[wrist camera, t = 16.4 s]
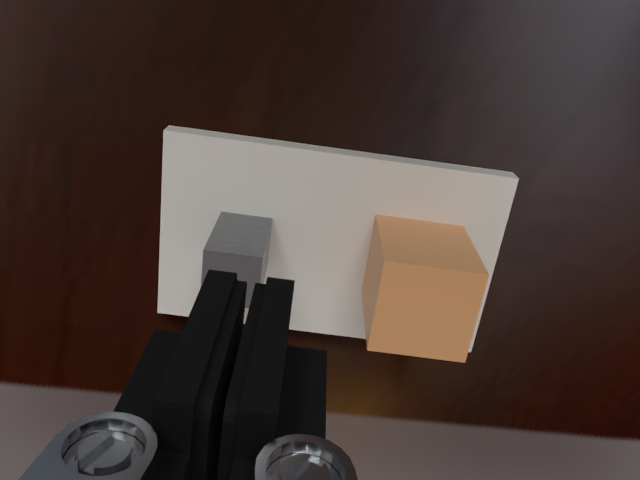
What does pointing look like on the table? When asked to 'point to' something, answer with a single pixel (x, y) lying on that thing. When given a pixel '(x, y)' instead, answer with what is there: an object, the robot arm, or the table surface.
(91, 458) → the robot arm
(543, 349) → the table surface
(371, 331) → the block
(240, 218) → the post
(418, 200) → the board
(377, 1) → the table surface
